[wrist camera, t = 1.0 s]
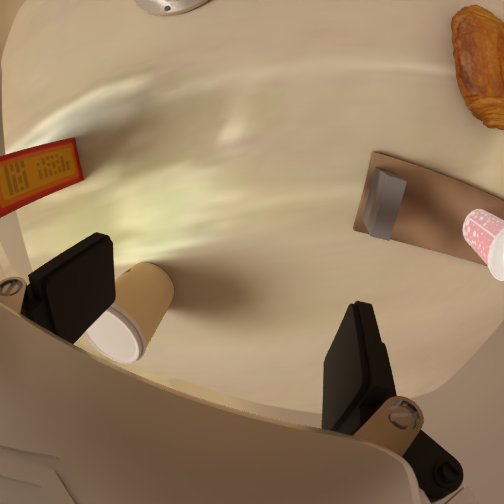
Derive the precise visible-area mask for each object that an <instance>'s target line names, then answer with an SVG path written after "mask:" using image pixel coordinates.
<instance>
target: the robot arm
mask: <svg viewBox="0 0 504 504" xmlns="http://www.w3.org/2000/svg"><path fill="white" fill-rule="evenodd" d="M207 1H208V0H134V2H135V3H136V5H137V6H138V7H140V8H141V9H142V10H144V11H146V12H148V13H150V14H153V15H159V16H172V15H177V14H182V13H185V12H187V11H190V10H193V9H195V8H197V7H199V6H201V5H202V4H204V3H205V2H207ZM28 277H29V281H30V284H29V285H27V284H26V282H25V280H24V279H23V278H20V277H9V278H6V279H4V280H2V281H1V282H0V504H479V503H478V501H477V500H476V498H475V497H474V495H473V494H472V492H471V490H470V489H469V488H468V486H465V487H463V486H462V484H461V483H462V481H463V469H462V467H461V465H460V463H459V462H458V461H457V460H456V459H455V458H454V457H453V456H452V455H451V454H449V453H448V452H447V451H445V450H444V449H443V448H442V447H441V446H440V445H438V444H437V443H436V442H435V441H434V440H433V439H431V438H430V437H429V436H428V435H427V434H425V433H424V432H423V431H422V430H421V428H422V426H423V423H424V417H423V414H422V411H421V409H420V408H419V406H418V405H417V404H416V403H415V402H413V401H412V400H410V399H408V398H406V397H402V396H397V395H396V390H395V385H394V380H393V375H392V371H391V366H390V362H389V358H388V353H387V349H386V346H385V344H384V343H383V342H381V337H380V333H379V329H378V325H377V322H376V318H375V314H374V310H373V307H372V304H369V303H365V302H360V301H356V302H355V304H350V305H349V306H348V309H347V311H346V313H345V316H344V318H343V320H342V323H341V325H340V327H339V329H338V331H337V334H336V336H335V338H334V340H333V342H332V345H331V347H330V349H329V351H328V353H327V355H326V357H325V361H324V376H323V409H322V429H320V428H315V427H310V426H305V425H300V424H295V423H290V422H286V421H281V420H277V419H273V418H268V417H264V416H260V415H256V414H252V413H248V412H245V411H240V410H237V409H233V408H230V407H226V406H223V405H219V404H216V403H213V402H209V401H207V400H204V399H200V398H197V397H194V396H191V395H189V394H186V393H183V392H180V391H177V390H174V389H172V388H169V387H166V386H164V385H161V384H158V383H156V382H153V381H151V380H148V379H146V378H143V377H141V376H139V375H136V374H134V373H132V372H129V371H127V370H125V369H122V368H120V367H118V366H116V365H114V364H111V363H109V362H107V361H105V360H103V359H101V358H99V357H97V356H95V355H93V354H91V353H89V352H87V351H85V350H83V349H81V348H79V347H77V346H75V345H73V344H74V343H75V342H76V341H77V340H78V339H79V338H80V337H81V336H82V334H83V333H84V332H85V331H86V330H87V329H88V328H89V327H90V326H91V325H92V324H93V323H94V322H95V321H96V320H97V319H98V318H99V317H100V316H101V315H102V314H103V313H104V312H105V311H106V310H107V309H108V308H109V307H110V306H111V305H112V304H113V303H114V301H115V298H116V290H115V277H114V260H113V242H112V241H111V240H110V237H109V236H108V235H105V234H101V233H98V232H96V233H94V234H92V235H91V236H89V237H87V238H85V239H84V240H82V241H80V242H79V243H77V244H76V245H74V246H72V247H71V248H69V249H67V250H66V251H64V252H63V253H61V254H59V255H58V256H56V257H55V258H53V259H52V260H50V261H49V262H47V263H46V264H44V265H42V266H41V267H39V268H38V269H36V270H35V271H34V272H32V273H31V274H29V275H28Z"/></svg>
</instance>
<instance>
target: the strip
mask: <svg viewBox="0 0 504 504" xmlns="http://www.w3.org/2000/svg"><path fill="white" fill-rule="evenodd" d="M476 209H483V210H485V211H487V212H489V213H491V214H493V215H495V216H497V217H498V218H500V219H502V220H504V201H503V200H501V199H499V198H497V197H495V196H493V195H491V194H488V193H486V192H484V191H482V190H479V189H477V188H475V187H473V186H470V185H468V184H465V183H463V182H461V181H458V180H456V179H453V178H451V177H448V176H445V175H443V174H440V173H437V172H435V171H432V170H429V169H426V168H423V167H421V166H418V165H415V164H412V163H409V162H406V161H403V160H399V159H396V158H393V157H390V156H386V155H383V154H380V153H376V152H373V151H372V156H371V160H370V165H369V169H368V173H367V177H366V182H365V186H364V190H363V194H362V197H361V201H360V205H359V209H358V213H357V216H356V220H355V223H354V227H353V229H354V231H358V232H363V233H367V234H370V236H372V237H376V238H380V239H384V240H388V241H389V240H390V239H391V240H395V241H399V242H403V243H407V244H411V245H414V246H418V247H422V248H426V249H429V250H433V251H437V252H440V253H444V254H447V255H451V256H455V257H458V258H462V259H465V260H468V261H472V262H475V263H479V264H482V265H485V266H487V264H486V263H485V262H484V261H483V260H482V258H481V257H480V256H479V255H478V254H477V253H476V251H475V250H474V249H473V248H472V247H471V246H470V245H469V244H468V243H467V241H466V240H465V238H464V236H463V224H464V221H465V219H466V217H467V216H468V215H469V214H470V213H471V212H472V211H473V210H476Z"/></svg>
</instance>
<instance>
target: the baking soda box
mask: <svg viewBox="0 0 504 504" xmlns="http://www.w3.org/2000/svg"><path fill="white" fill-rule="evenodd" d="M83 180H84V178H83V174H82V170H81V166H80V161H79V157H78V152H77V148H76V143H75V138H70V139H65V140H60V141H56V142H51V143H47V144H43V145H39V146H35V147H31V148H28V149H24V150H20V151H17V152H13V153H10V154H7V155H3V156H0V218H1V217H3V216H5V215H7V214H9V213H11V212H12V211H15V210H17V209H19V208H21V207H23V206H25V205H27V204H29V203H31V202H34V201H36V200H38V199H40V198H42V197H45V196H47V195H49V194H51V193H54V192H56V191H58V190H61V189H63V188H66V187H68V186H71V185H73V184H76V183H78V182H81V181H83Z"/></svg>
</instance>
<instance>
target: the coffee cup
mask: <svg viewBox="0 0 504 504" xmlns="http://www.w3.org/2000/svg"><path fill="white" fill-rule="evenodd" d="M115 290H116V298H115V301H114V303H113V304H112V305H111V306H110V307H109V308H108V309H107V310H106V311H105V312H104V313H103V314H102V315H101V316H100V317H99V318H98V319H97V320H96V321H95V322H94V323H93V324H92V325H91V326H90V327H89V328H88V329H87V330H86V331H85V332H84V334H85V336H86V337H87V339H88V340H89V341H90V343H91V344H92V345H93V346H94V347H95V348H96V349H97V350H98V351H99V352H101V353H102V354H103V355H105V356H106V357H108V358H110V359H112V360H114V361H117V362H120V363H132V362H135V361H137V360H139V359H140V358H141V357H142V356H143V355H144V353H145V350H146V347H147V345H148V344H149V342H150V340H151V338H152V336H153V335H154V333H155V331H156V329H157V327H158V325H159V324H160V322H161V320H162V318H163V316H164V315H165V313H166V311H167V309H168V307H169V306H170V304H171V302H172V300H173V297H174V287H173V284H172V281H171V279H170V278H169V276H168V275H167V274H166V273H165V271H163V270H162V269H161V268H160V267H158V266H156V265H154V264H151V263H146V262H142V263H138V264H136V265H134V266H133V267H131V268H130V269H129V270H127V271H126V272H125V273H123V274H122V275H121V276H120V277H118V278H117V279H116V280H115Z"/></svg>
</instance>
